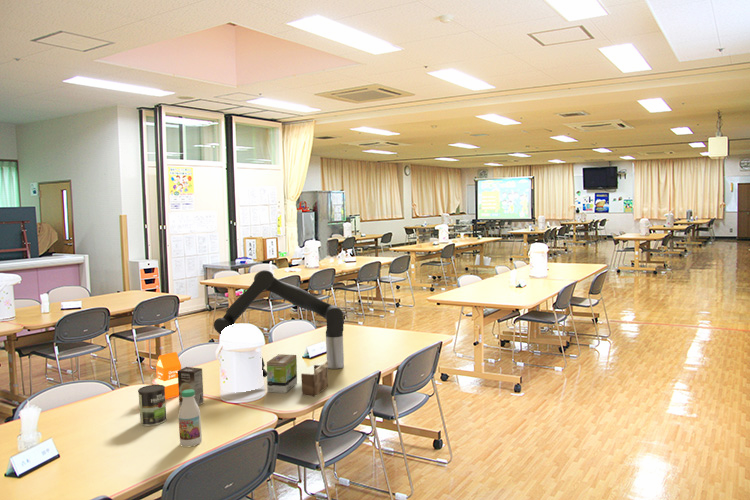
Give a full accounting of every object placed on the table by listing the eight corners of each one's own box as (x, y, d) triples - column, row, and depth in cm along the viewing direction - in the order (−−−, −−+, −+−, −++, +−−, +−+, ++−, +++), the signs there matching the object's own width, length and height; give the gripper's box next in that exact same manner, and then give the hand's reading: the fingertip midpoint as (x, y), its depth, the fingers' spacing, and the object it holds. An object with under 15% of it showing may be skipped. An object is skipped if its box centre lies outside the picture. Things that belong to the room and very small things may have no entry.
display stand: (315, 384, 266) (314, 360, 265) (329, 385, 264) (328, 360, 263) (302, 395, 252) (301, 369, 251) (316, 396, 250) (315, 370, 249)
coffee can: (172, 419, 227) (170, 386, 226) (150, 428, 218) (148, 394, 217) (156, 414, 232) (154, 382, 231) (134, 423, 224) (132, 390, 223)
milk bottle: (183, 439, 207) (180, 388, 205) (204, 438, 207) (201, 386, 206) (177, 448, 199) (174, 395, 197) (199, 446, 200) (196, 393, 198)
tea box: (287, 393, 255) (285, 362, 254) (266, 392, 257) (265, 362, 256) (297, 383, 270) (296, 353, 268) (278, 382, 272) (277, 353, 270)
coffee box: (178, 405, 243) (176, 370, 242) (187, 400, 249) (185, 366, 248) (195, 407, 240) (193, 372, 239) (204, 402, 246) (202, 367, 245)
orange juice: (183, 394, 258) (180, 353, 256) (165, 399, 252) (162, 357, 250) (175, 390, 263) (172, 350, 262) (157, 395, 257) (154, 354, 255)
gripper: (240, 348, 261) (264, 374, 258) (254, 341, 274) (277, 366, 271) (231, 358, 263) (254, 385, 261) (246, 351, 276) (268, 376, 273)
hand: (266, 375), depth 266 cm, fingers closed
